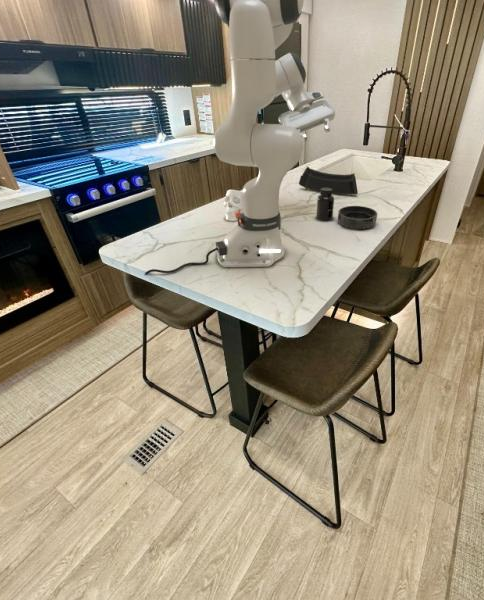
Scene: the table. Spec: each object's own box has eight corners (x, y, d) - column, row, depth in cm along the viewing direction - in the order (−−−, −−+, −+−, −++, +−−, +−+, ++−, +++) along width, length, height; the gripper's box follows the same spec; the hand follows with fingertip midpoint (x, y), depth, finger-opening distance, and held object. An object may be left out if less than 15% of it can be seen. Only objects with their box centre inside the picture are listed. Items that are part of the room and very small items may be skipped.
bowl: (345, 232, 124) (346, 221, 121) (332, 217, 136) (333, 207, 133) (382, 228, 126) (384, 217, 124) (366, 214, 138) (367, 204, 136)
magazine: (364, 177, 154) (309, 152, 159) (363, 178, 151) (307, 153, 156) (351, 209, 165) (299, 185, 170) (349, 211, 162) (297, 186, 167)
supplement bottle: (331, 221, 132) (334, 192, 125) (315, 220, 133) (316, 191, 126) (333, 215, 138) (335, 187, 131) (317, 214, 139) (318, 186, 132)
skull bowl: (214, 217, 133) (220, 187, 132) (232, 224, 146) (237, 197, 145) (236, 220, 129) (242, 190, 128) (252, 227, 142) (258, 200, 141)
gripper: (276, 109, 119) (291, 140, 117) (326, 90, 121) (342, 119, 118) (276, 122, 125) (291, 151, 123) (324, 103, 127) (339, 131, 124)
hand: (316, 135), depth 121 cm, fingers open, 8 cm apart
